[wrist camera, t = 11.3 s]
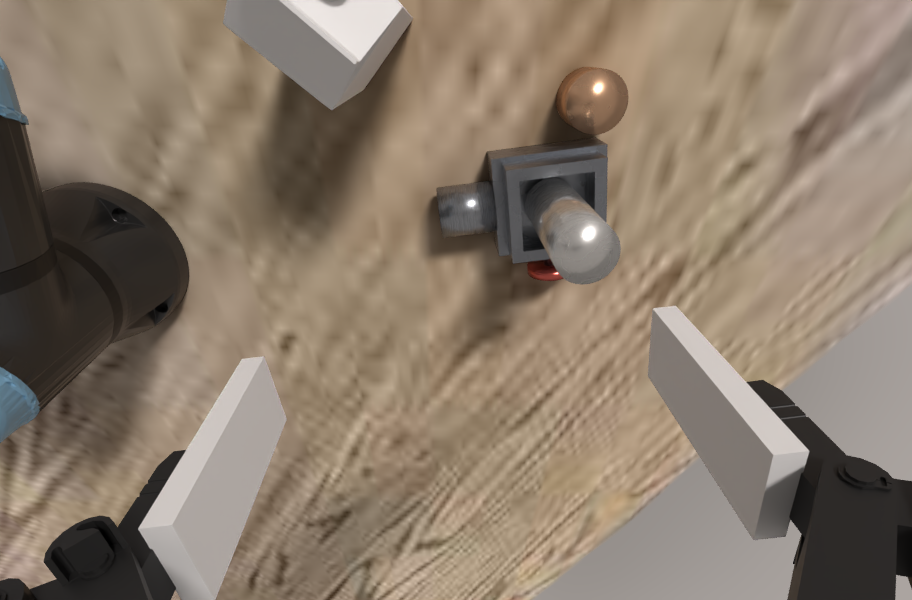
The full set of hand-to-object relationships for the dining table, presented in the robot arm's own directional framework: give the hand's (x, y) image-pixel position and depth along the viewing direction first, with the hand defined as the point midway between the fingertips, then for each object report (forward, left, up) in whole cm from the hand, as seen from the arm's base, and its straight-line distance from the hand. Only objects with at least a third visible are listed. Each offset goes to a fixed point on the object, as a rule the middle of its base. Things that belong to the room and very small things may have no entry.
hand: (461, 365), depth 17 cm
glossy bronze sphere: (+13, +4, -33) cm, 36 cm away
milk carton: (-6, +12, -33) cm, 36 cm away
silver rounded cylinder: (+9, -4, -29) cm, 31 cm away
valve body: (+6, -5, -33) cm, 34 cm away
